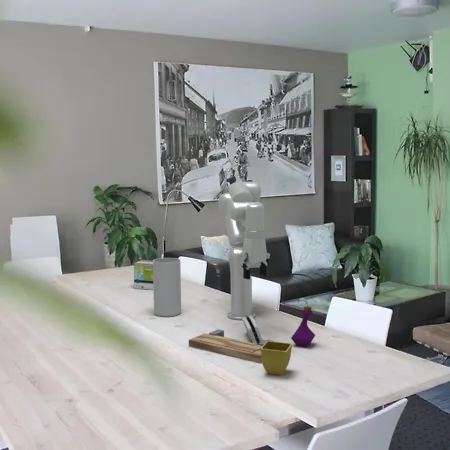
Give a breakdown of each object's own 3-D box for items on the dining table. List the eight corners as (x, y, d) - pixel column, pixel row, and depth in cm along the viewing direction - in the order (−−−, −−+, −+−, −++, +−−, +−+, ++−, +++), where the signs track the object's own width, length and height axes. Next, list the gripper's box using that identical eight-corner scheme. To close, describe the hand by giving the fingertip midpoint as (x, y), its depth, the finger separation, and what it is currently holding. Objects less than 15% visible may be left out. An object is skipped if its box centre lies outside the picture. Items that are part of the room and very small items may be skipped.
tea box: (133, 289, 316) (133, 262, 314) (141, 285, 325) (140, 259, 323) (158, 290, 311) (158, 263, 310) (166, 286, 321) (165, 260, 319)
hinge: (267, 344, 218) (258, 321, 217) (256, 349, 218) (247, 325, 216) (259, 331, 235) (250, 309, 233) (248, 336, 234) (240, 314, 233)
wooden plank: (204, 339, 225) (204, 332, 225) (274, 355, 207) (274, 347, 206) (188, 346, 217) (188, 339, 217) (260, 363, 199) (260, 355, 198)
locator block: (218, 336, 229) (217, 329, 229) (224, 337, 227) (224, 330, 227) (208, 340, 224) (208, 332, 224) (215, 341, 222) (214, 334, 222)
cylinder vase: (149, 315, 261) (147, 261, 258) (162, 309, 272) (161, 257, 270) (173, 318, 256) (172, 263, 253) (185, 311, 268) (184, 258, 265)
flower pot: (292, 369, 193) (292, 343, 192) (286, 378, 185) (286, 351, 184) (267, 366, 196) (267, 340, 195) (260, 375, 188) (260, 348, 187)
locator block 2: (267, 347, 216) (267, 339, 215) (273, 348, 214) (273, 340, 214) (258, 351, 211) (258, 343, 210) (265, 352, 209) (265, 344, 209)
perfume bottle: (315, 343, 220) (316, 297, 218) (309, 349, 213) (310, 301, 211) (296, 340, 223) (297, 295, 221) (290, 346, 216) (290, 299, 214)
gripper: (262, 232, 237) (262, 272, 239) (233, 236, 225) (233, 279, 227) (276, 233, 231) (276, 275, 233) (247, 238, 219) (247, 281, 221)
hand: (255, 277), depth 230 cm, fingers open, 9 cm apart
